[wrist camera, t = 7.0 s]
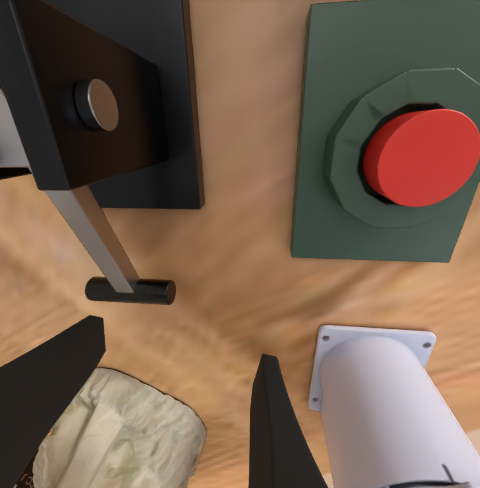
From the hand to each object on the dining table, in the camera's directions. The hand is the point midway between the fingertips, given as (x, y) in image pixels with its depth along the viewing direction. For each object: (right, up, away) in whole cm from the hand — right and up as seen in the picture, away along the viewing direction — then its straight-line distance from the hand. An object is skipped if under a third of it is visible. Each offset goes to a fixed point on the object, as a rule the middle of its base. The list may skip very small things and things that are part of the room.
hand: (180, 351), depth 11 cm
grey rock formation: (-9, -15, +16) cm, 24 cm away
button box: (+10, +10, +2) cm, 14 cm away
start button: (+10, +9, 0) cm, 13 cm away
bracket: (-4, +12, +3) cm, 13 cm away
